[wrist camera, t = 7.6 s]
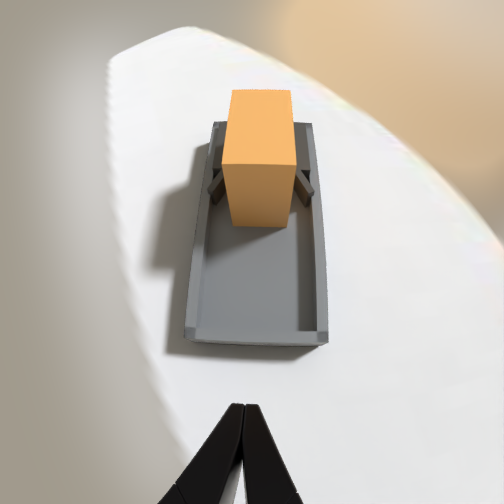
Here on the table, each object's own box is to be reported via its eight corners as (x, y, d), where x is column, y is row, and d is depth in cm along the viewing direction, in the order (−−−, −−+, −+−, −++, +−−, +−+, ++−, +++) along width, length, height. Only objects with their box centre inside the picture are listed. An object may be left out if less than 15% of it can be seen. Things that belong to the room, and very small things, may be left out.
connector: (287, 227, 24) (296, 165, 17) (232, 226, 24) (221, 164, 17) (284, 138, 28) (288, 74, 21) (240, 137, 28) (235, 74, 21)
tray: (321, 345, 21) (330, 341, 18) (192, 341, 22) (181, 336, 19) (308, 139, 29) (312, 118, 26) (216, 138, 30) (212, 116, 27)
